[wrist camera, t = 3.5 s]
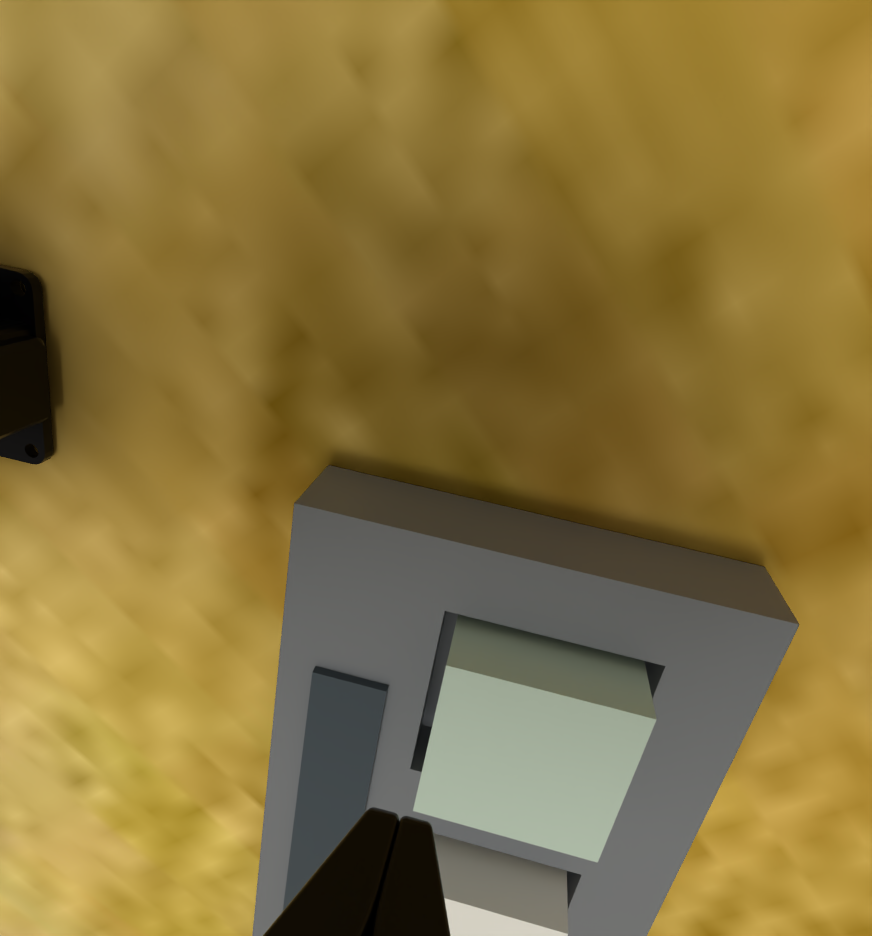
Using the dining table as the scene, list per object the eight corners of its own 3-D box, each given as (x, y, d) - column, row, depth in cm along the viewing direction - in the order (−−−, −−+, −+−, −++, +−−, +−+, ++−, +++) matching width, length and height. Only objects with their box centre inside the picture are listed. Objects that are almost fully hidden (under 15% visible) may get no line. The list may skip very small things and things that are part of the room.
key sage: (427, 749, 21) (412, 810, 19) (458, 613, 19) (446, 665, 17) (592, 794, 21) (597, 862, 19) (643, 659, 19) (656, 719, 16)
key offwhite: (388, 917, 25) (372, 985, 23) (411, 819, 23) (395, 883, 20) (529, 959, 24) (527, 1033, 22) (566, 862, 22) (568, 934, 20)
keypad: (267, 985, 32) (237, 1065, 29) (328, 465, 21) (290, 507, 18) (540, 1070, 31) (539, 1163, 28) (764, 566, 19) (803, 631, 16)
